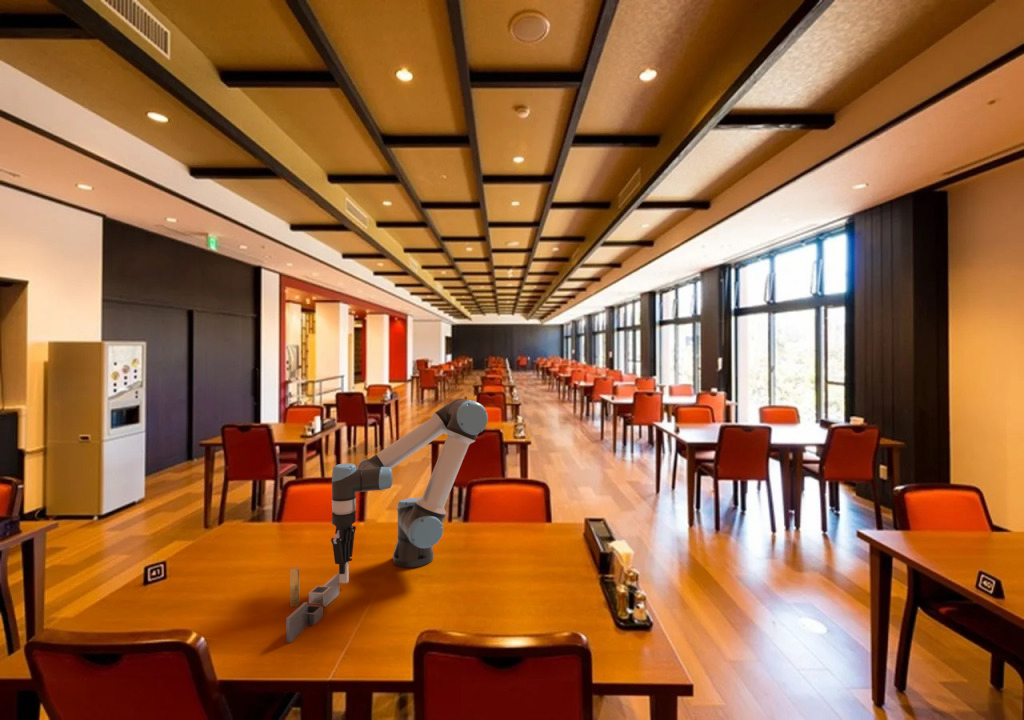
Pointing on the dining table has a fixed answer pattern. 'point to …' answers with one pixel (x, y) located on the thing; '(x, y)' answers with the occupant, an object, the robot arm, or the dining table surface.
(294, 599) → the pin
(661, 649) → the dining table surface
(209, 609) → the dining table surface
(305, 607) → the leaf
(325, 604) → the leaf
